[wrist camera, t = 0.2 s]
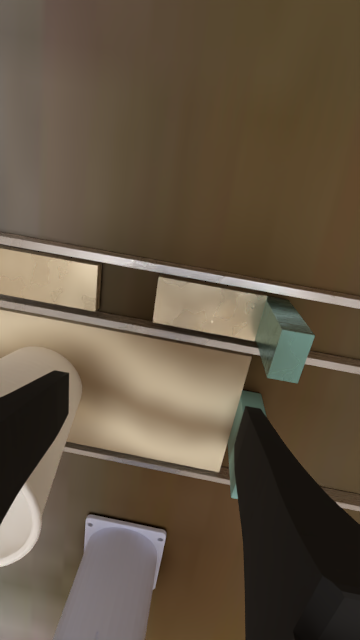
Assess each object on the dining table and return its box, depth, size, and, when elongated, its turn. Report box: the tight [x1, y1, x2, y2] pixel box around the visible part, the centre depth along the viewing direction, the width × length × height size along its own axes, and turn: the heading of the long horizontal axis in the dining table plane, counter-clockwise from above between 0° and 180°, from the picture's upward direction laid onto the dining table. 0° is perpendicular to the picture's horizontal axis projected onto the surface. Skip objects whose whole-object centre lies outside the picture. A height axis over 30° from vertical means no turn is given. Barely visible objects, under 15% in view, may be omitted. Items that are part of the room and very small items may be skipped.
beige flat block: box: [0, 307, 266, 499], centre depth 21 cm, size 11×23×6 cm, turn 81°
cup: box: [0, 346, 82, 567], centre depth 19 cm, size 10×10×11 cm
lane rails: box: [0, 232, 360, 511], centre depth 20 cm, size 17×34×6 cm, turn 81°
